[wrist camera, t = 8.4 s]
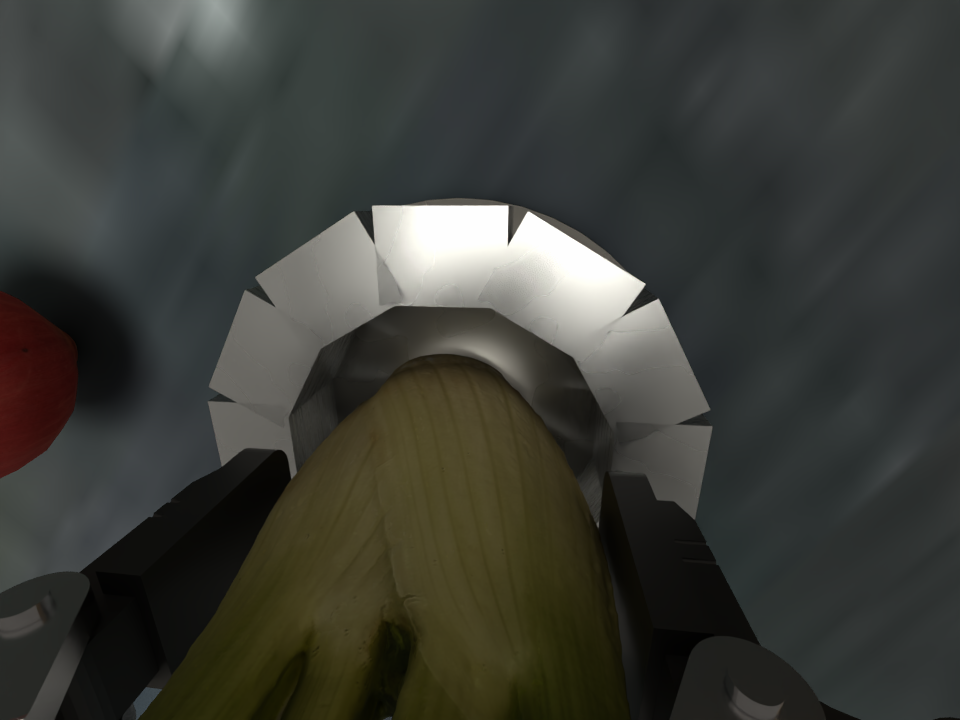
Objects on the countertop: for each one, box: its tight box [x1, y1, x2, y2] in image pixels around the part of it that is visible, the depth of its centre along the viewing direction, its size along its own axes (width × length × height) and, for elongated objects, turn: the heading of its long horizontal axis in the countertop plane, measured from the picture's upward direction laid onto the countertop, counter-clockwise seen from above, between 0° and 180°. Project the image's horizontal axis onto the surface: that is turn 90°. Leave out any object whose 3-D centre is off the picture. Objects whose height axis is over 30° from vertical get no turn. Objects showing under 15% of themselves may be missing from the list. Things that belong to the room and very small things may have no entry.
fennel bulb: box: [138, 354, 631, 720], centre depth 7 cm, size 6×5×12 cm
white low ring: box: [208, 198, 713, 527], centre depth 12 cm, size 12×12×4 cm
